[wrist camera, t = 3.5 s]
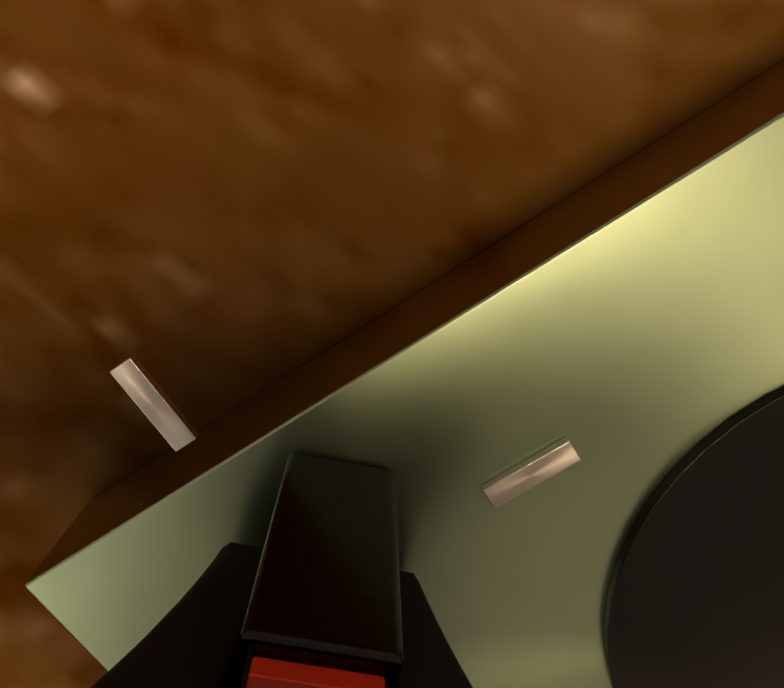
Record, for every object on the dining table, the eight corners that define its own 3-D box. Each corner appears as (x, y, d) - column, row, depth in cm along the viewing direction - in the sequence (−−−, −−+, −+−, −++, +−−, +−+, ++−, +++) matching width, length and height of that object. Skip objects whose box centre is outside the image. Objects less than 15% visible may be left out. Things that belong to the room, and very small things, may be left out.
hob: (403, 904, 16) (408, 1048, 13) (-24, 446, 12) (-127, 528, 10) (1089, 576, 13) (1248, 677, 11) (819, -120, 10) (970, -203, 7)
